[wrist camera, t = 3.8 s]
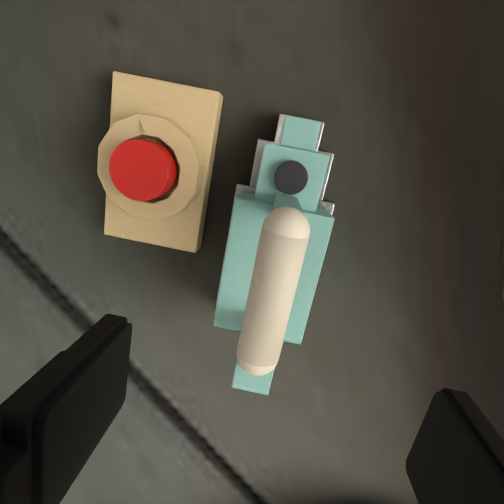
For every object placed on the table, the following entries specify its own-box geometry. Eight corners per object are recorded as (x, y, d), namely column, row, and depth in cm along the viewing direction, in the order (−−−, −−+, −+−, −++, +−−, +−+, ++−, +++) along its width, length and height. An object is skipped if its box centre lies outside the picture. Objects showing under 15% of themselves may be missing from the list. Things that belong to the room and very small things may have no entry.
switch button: (123, 134, 21) (110, 133, 19) (179, 146, 21) (171, 145, 19) (120, 191, 22) (107, 195, 20) (173, 202, 22) (164, 206, 20)
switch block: (124, 76, 23) (97, 63, 19) (223, 95, 23) (214, 86, 19) (114, 229, 26) (90, 240, 23) (201, 247, 26) (189, 261, 23)
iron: (250, 109, 23) (227, 74, 12) (352, 128, 22) (412, 110, 12) (216, 304, 27) (179, 395, 17) (301, 322, 27) (313, 424, 17)
